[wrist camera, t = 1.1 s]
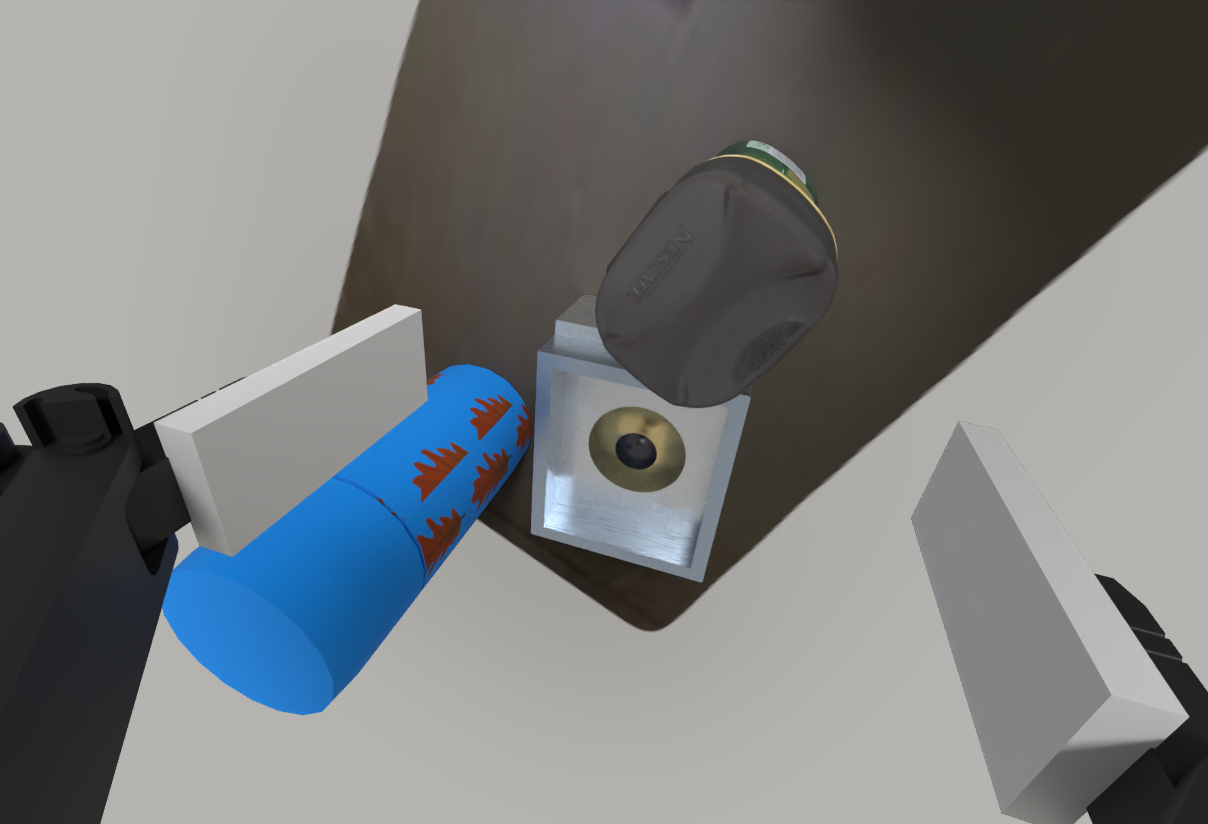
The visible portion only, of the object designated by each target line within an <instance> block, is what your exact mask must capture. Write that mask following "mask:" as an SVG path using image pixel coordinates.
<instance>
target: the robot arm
mask: <svg viewBox="0 0 1208 824" xmlns="http://www.w3.org/2000/svg"><path fill="white" fill-rule="evenodd" d="M427 401H428V396H427V382H426V369H425V356H424V342H423V329H422V316H421V310H420V309H415V308H410V307H406V306H401V305H396V304H395V305H393V306H391V307H389V308H387V309H385V310H383V311H381V312H379V313H377V314H375V315H373V316H371V317H369V318H367V319H365V320H363V321H361V322H359V323H356V324H354V325H352V326H350V327H348V328H346V329H344V330H342V331H340V332H338V333H336V334H334V335H332V336H330V337H328V338H326V339H324V340H322V341H320V342H318V343H316V344H314V345H312V346H309V347H308V348H305V349H303V350H301V351H299V352H297V353H295V354H293V355H291V356H289V357H287V358H285V359H283V360H281V361H279V362H277V363H275V364H273V365H271V366H269V367H266V368H264V369H262V370H260V371H258V372H256V373H254V374H252V375H250V376H248V377H244V378H241V379H239V380H237V381H234V382H233V383H230V384H228V385H226V386H224V387H222V388H220V389H219V391H217V392H216V391H214V392H212V393H210V394H208V395H206V396H204V397H202V398H201V400H199V401H198V400H195V401H193V402H191V403H189V404H187V405H185V406H183V407H181V408H179V409H177V410H175V411H173V412H171V413H169V414H167V415H165V416H162V417H160V418H158V419H156V420H154V421H152V422H150V423H148V424H146V425H144V426H142V427H140V428H138V429H136V430H134V429H133V426H132V424H131V421H130V419H129V416H128V414H127V411H126V409H125V406H124V404H123V401H122V399H121V396H120V393H119V391H118V390H117V389H115V388H114V387H113V386H111V385H106V384H101V383H79V384H72V385H65V386H59V387H55V388H52V389H48V390H44V391H41V392H38V393H36V394H34V395H31V396H29V397H26V398H24V399H22V400H21V401H20V402H18V403H17V404H15V405H14V406H13V409H14V410H15V413H16V415H17V417H18V418H19V420H20V422H21V424H22V426H23V428H24V430H25V432H26V434H27V436H28V438H29V440H30V442H31V444H32V446H28V445H15V444H14V443H13V441H12V439H11V437H10V435H9V433H8V431H7V429H6V428H5V426H4V424H3V423H1V422H0V824H100V823H101V819H102V816H103V812H104V809H105V805H106V801H107V798H108V795H109V791H110V788H111V784H112V781H113V777H114V774H115V770H116V767H117V763H118V760H119V755H120V753H121V749H122V746H123V742H124V738H125V735H126V731H127V728H128V724H129V721H130V717H131V714H132V710H133V707H134V703H135V700H136V696H137V693H138V689H139V686H140V682H141V679H142V675H143V672H144V668H145V665H146V661H147V658H148V654H149V651H150V647H151V644H152V640H153V636H154V633H155V630H156V626H157V623H158V619H159V616H160V612H161V609H162V605H163V602H164V598H165V595H166V591H167V588H168V584H169V581H170V577H171V574H172V570H173V567H174V563H175V560H176V556H177V553H178V540H177V537H176V535H175V532H176V531H178V530H179V529H180V528H182V527H183V526H185V525H186V524H188V523H189V522H191V524H192V527H193V530H194V532H195V535H196V538H197V541H198V543H199V546H201V547H204V548H207V549H210V550H213V551H216V552H219V553H222V554H225V555H228V556H231V557H233V556H234V555H236V554H237V553H238V552H239V551H241V550H242V549H243V548H244V547H246V546H247V545H248V544H249V543H251V542H252V541H253V540H254V539H255V538H257V537H258V536H259V535H260V534H262V533H263V532H264V531H265V530H267V529H268V528H269V527H270V526H272V525H273V524H274V523H275V522H277V521H278V520H279V519H280V518H282V517H283V516H284V515H285V514H287V513H288V512H289V511H290V510H292V509H293V508H294V507H295V506H297V505H298V504H299V503H300V502H302V501H303V500H304V499H305V498H307V497H308V496H309V495H310V494H312V493H313V492H314V491H315V490H317V489H318V488H319V487H320V486H322V485H323V484H324V483H325V482H327V481H328V480H329V479H330V478H332V477H333V476H334V475H335V474H337V473H338V472H339V471H340V470H342V469H343V468H344V467H345V466H347V465H348V464H349V463H350V462H352V461H353V460H354V459H355V458H357V457H358V456H359V455H360V454H362V453H363V452H364V451H365V450H367V449H368V448H369V447H370V446H372V445H373V444H374V443H375V442H377V441H378V440H379V439H380V438H382V437H383V436H384V435H385V434H387V433H388V432H389V431H390V430H392V429H393V428H394V427H395V426H397V425H398V424H399V423H400V422H402V421H403V420H404V419H405V418H407V417H408V416H409V415H410V414H412V413H413V412H414V411H415V410H417V409H418V408H419V407H420V406H422V405H423V404H424V403H425V402H427ZM911 519H912V523H913V526H914V529H915V533H916V536H917V539H918V543H919V546H920V549H921V552H922V556H923V558H924V562H925V565H926V569H927V572H928V575H929V578H930V582H931V585H932V588H933V591H934V594H935V598H936V601H937V604H938V607H939V611H940V614H941V617H942V620H943V624H944V627H945V630H946V633H947V637H948V640H949V643H950V647H951V650H952V653H953V656H954V660H955V663H956V666H957V670H958V673H959V676H960V679H961V683H962V686H963V689H964V693H965V696H966V699H967V702H968V705H969V709H970V712H971V715H972V718H973V722H974V725H975V728H976V732H977V735H978V738H979V741H980V745H981V748H982V751H983V754H984V758H985V761H986V764H987V767H988V770H989V774H990V777H991V781H992V784H993V787H994V790H995V794H996V797H997V800H998V803H999V807H1000V810H1001V813H1002V814H1006V815H1008V816H1011V817H1014V818H1017V819H1020V820H1023V821H1026V822H1029V823H1032V824H1074V823H1075V822H1076V821H1077V820H1078V819H1079V818H1080V817H1081V816H1082V815H1084V814H1085V813H1086V812H1087V811H1088V814H1089V816H1090V818H1091V821H1092V823H1093V824H1208V692H1207V690H1206V689H1205V688H1204V686H1203V685H1202V683H1201V682H1200V681H1199V679H1198V678H1197V677H1196V675H1195V674H1194V672H1193V671H1192V670H1191V668H1190V667H1189V666H1188V664H1187V663H1183V662H1182V656H1181V655H1180V653H1179V652H1178V650H1177V649H1176V648H1175V646H1174V645H1173V643H1172V642H1171V641H1170V639H1166V638H1165V633H1164V631H1163V630H1162V628H1161V627H1160V626H1159V624H1158V623H1157V621H1156V620H1155V619H1154V617H1153V616H1152V615H1151V613H1150V612H1149V610H1148V609H1147V608H1146V606H1145V605H1144V604H1143V603H1141V602H1140V601H1139V600H1138V599H1137V598H1136V597H1134V596H1133V595H1132V594H1131V593H1130V592H1129V591H1127V590H1126V589H1125V588H1124V587H1123V586H1121V584H1119V583H1118V582H1117V581H1116V580H1115V579H1113V578H1109V577H1106V576H1102V575H1098V574H1094V573H1093V572H1092V570H1091V569H1090V567H1089V566H1088V564H1087V563H1086V561H1085V560H1084V558H1083V557H1082V555H1081V554H1080V552H1079V551H1078V549H1077V548H1076V546H1075V545H1074V543H1073V542H1072V540H1071V539H1070V537H1069V536H1068V534H1067V533H1066V531H1065V530H1064V528H1063V527H1062V525H1061V524H1060V522H1059V521H1058V519H1057V518H1056V516H1055V515H1054V513H1053V512H1052V510H1051V509H1050V507H1049V506H1048V504H1047V503H1046V501H1045V500H1044V498H1043V497H1042V495H1041V494H1040V492H1039V491H1038V489H1037V488H1036V486H1035V485H1034V483H1033V482H1032V480H1031V479H1030V477H1029V476H1028V474H1027V473H1026V471H1025V470H1024V468H1023V467H1022V465H1021V464H1020V462H1019V461H1018V459H1017V458H1016V456H1015V455H1014V453H1013V452H1012V450H1011V449H1010V447H1009V446H1008V444H1007V443H1006V441H1005V440H1004V438H1003V437H1002V435H1001V434H1000V432H999V431H998V430H997V429H994V428H989V427H984V426H980V425H975V424H970V423H965V422H960V421H959V422H958V424H957V426H956V428H955V430H954V432H953V434H952V436H951V438H950V440H949V442H948V444H947V446H946V448H945V450H944V453H943V454H942V456H941V458H940V460H939V463H938V465H937V467H936V469H935V471H934V473H933V475H932V477H931V479H930V481H929V483H928V485H927V487H926V489H925V491H924V493H923V495H922V497H921V499H920V501H919V503H918V505H917V507H916V509H915V511H914V513H913V515H912V517H911Z"/></svg>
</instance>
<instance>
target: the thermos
mask: <svg viewBox="0 0 1208 824" xmlns="http://www.w3.org/2000/svg"><path fill="white" fill-rule="evenodd" d="M426 382H427V396H428V401H427V402H425V403H424V404H423V405H422V406H420V407H419V408H418V409H417V410H415V411H414V412H413V413H412V414H410V415H409V416H408V417H407V418H405V419H404V420H403V421H402V422H400V423H399V424H398V425H397V426H395V427H394V428H393V429H392V430H390V431H389V432H388V433H387V434H385V435H384V436H383V437H382V438H380V439H379V440H378V441H377V442H375V443H374V444H373V445H372V446H370V447H369V448H368V449H367V450H365V451H364V452H363V453H362V454H360V455H359V456H358V457H357V458H355V459H354V460H353V461H352V462H350V463H349V464H348V465H347V466H345V467H344V468H343V469H342V470H340V471H339V472H338V473H337V474H335V475H334V476H333V477H332V478H330V479H329V480H328V481H327V482H325V483H324V484H323V485H322V486H320V487H319V488H318V489H317V490H315V491H314V492H313V493H312V494H310V495H309V496H308V497H307V498H305V499H304V500H303V501H302V502H300V503H299V504H298V505H297V506H295V507H294V508H293V509H292V510H290V511H289V512H288V513H287V514H285V515H284V516H283V517H282V518H280V519H279V520H278V521H277V522H275V523H274V524H273V525H272V526H270V527H269V528H268V529H267V530H265V531H264V532H263V533H262V534H260V535H259V536H258V537H257V538H255V539H254V540H253V541H252V542H251V543H249V544H248V545H247V546H246V547H244V548H243V549H242V550H241V551H239V552H238V553H237V554H236V555H234V556H233V557H231V556H228V555H225V554H222V553H219V552H216V551H213V550H210V549H207V548H204V547H201V546H199V547H198V548H197V549H195V550H194V551H193V552H192V553H191V554H190V555H189V556H187V557H186V558H185V559H184V560H183V561H182V562H181V563H180V564H179V565H178V566H177V567H176V568H174V569H173V570H172V574H171V577H170V581H169V584H168V588H167V591H166V595H165V598H164V602H163V605H162V608H163V612H164V616H165V617H166V619H167V621H168V622H169V624H170V626H171V628H172V629H173V631H174V633H175V634H176V636H177V637H178V639H179V640H180V641H181V642H182V644H183V645H184V646H185V647H186V648H187V649H188V650H189V651H190V653H191V654H192V655H193V656H194V657H195V658H196V659H197V660H198V661H199V662H200V663H201V664H202V665H203V666H204V667H206V668H207V669H208V670H209V671H210V672H212V673H213V674H214V675H215V676H216V677H218V678H219V679H220V680H221V681H223V682H224V683H225V684H227V685H228V686H230V687H232V688H233V689H235V690H237V691H238V692H240V693H242V694H243V695H245V696H246V697H248V698H250V699H251V700H253V701H256V702H258V703H261V704H263V705H266V706H268V707H270V708H273V709H275V710H278V711H282V712H287V713H293V714H299V715H307V714H312V713H317V712H322V711H323V710H324V709H325V708H326V707H327V706H328V705H329V704H330V703H331V702H332V701H333V700H334V698H335V697H336V696H337V695H338V694H339V693H340V692H341V691H342V690H343V689H344V688H345V687H346V686H347V685H348V684H349V683H350V682H351V681H352V680H353V678H354V677H355V676H356V675H357V674H358V673H359V672H360V670H361V669H362V668H363V667H364V665H365V664H366V663H367V661H368V660H369V659H370V658H371V656H372V655H373V654H374V652H375V651H376V650H377V648H378V647H379V646H380V644H381V643H382V642H383V640H384V639H385V638H386V637H387V635H388V634H389V633H390V631H391V630H392V629H393V627H394V626H395V625H396V623H397V622H398V621H399V620H400V618H401V617H402V616H403V614H404V613H405V612H406V610H407V609H408V608H409V607H410V605H411V604H412V603H413V601H414V600H415V598H416V597H417V596H418V594H419V593H420V592H421V591H422V589H423V588H424V587H425V586H426V584H427V583H428V582H429V580H430V579H431V578H432V577H433V575H434V574H435V573H436V571H437V570H438V569H439V567H440V566H441V565H442V563H443V562H444V561H445V560H446V558H447V557H448V556H449V554H450V553H451V552H452V550H453V549H454V548H455V547H456V545H457V544H458V543H459V541H460V540H461V539H462V537H463V536H464V535H465V533H466V532H467V531H468V530H469V528H470V527H471V526H472V524H473V523H474V522H475V520H476V519H477V518H478V517H479V515H480V514H481V513H482V511H483V510H484V509H485V507H486V506H487V505H488V503H489V502H490V501H491V500H492V498H493V497H494V496H495V494H496V493H497V492H498V490H499V489H500V488H501V487H502V485H503V484H504V483H505V481H506V480H507V479H508V477H509V476H510V475H511V473H512V472H513V470H514V469H515V467H516V466H517V464H518V463H519V461H520V460H521V458H522V456H523V455H524V453H525V452H526V450H527V449H528V445H529V442H530V438H531V434H532V429H531V421H530V414H529V412H528V410H527V408H526V406H525V404H524V402H523V400H522V398H521V396H520V395H519V394H518V393H517V392H516V390H515V389H514V388H513V387H512V386H511V385H510V384H509V383H508V382H507V381H506V380H505V379H503V378H502V377H500V376H498V375H497V374H495V373H493V372H492V371H490V370H488V369H485V368H481V367H477V366H473V365H469V364H466V365H457V366H450V367H449V368H447V369H445V370H443V371H442V372H440V373H438V374H437V375H435V376H434V377H432V378H430V379H429V380H427V381H426Z"/></svg>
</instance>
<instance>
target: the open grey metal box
mask: <svg viewBox="0 0 1208 824" xmlns="http://www.w3.org/2000/svg"><path fill="white" fill-rule="evenodd" d="M596 299H597V296H592V295H587V294H584V295H583V296H582V297H581V298H580V299H579V300H578V301H576V302H575V303H574V304H573V305H572V306H571V307H570V308H569V309H568V310H566V311H565V312H564V313H563V314H562V315H561V316H560V317H559V318H557V319H556V327H555V335H554V336H553V337H552V338H551V339H550V340H549V341H547V342H546V343H545V344H544V345H543V346H542V347H541V348H540V349H539V350H538V355H537V382H536V408H535V435H534V462H533V489H532V516H531V534H534V535H538V536H541V537H544V538H548V539H551V540H555V541H558V542H562V543H565V544H569V545H572V546H576V547H579V548H583V549H586V550H590V551H593V552H597V553H600V554H604V555H607V556H611V557H614V558H618V559H621V560H625V561H628V562H632V563H635V564H639V565H642V566H646V567H649V568H652V569H656V570H659V571H663V572H666V573H670V574H673V575H677V576H680V577H684V578H687V579H691V580H694V581H698V582H701V583H702V581H703V578H704V574H705V570H706V566H707V562H708V559H709V555H710V551H711V547H712V543H713V540H714V536H715V532H716V528H717V524H718V521H719V517H720V513H721V509H722V505H723V502H724V498H725V494H726V490H727V486H728V483H729V479H730V475H731V471H732V467H733V464H734V460H735V456H736V452H737V448H738V445H739V441H740V437H741V433H742V429H743V426H744V422H745V418H746V414H747V410H748V407H749V403H750V399H751V394H752V386H753V384H752V385H751V386H750V387H749V388H748V389H746V390H745V391H744V392H742V393H741V394H740V395H738V396H737V397H736V398H734V399H732V400H730V401H728V402H725V403H723V404H720V405H717V406H713V407H707V408H687V407H681V406H675V405H672V404H670V403H668V402H667V401H665V400H664V399H662V398H661V397H659V396H658V395H656V394H655V393H653V392H652V391H651V390H649V389H648V388H647V387H645V386H644V385H643V384H642V383H640V382H639V381H638V380H637V379H635V378H634V377H633V376H632V375H631V374H630V373H629V372H627V371H626V370H625V369H624V368H623V367H622V366H621V365H620V364H619V363H618V362H617V361H616V360H615V359H614V358H613V357H612V356H611V355H610V354H609V353H608V351H607V350H606V349H605V347H604V345H603V342H602V340H601V338H600V335H599V332H598V329H597V325H596V316H595V307H596Z"/></svg>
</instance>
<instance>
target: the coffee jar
mask: <svg viewBox="0 0 1208 824" xmlns="http://www.w3.org/2000/svg"><path fill="white" fill-rule="evenodd" d="M837 278H838V267H837V247H836V241H835V237H834V234H833V231H832V229H831V227H830V225H829V224H828V222H827V220H826V219H825V217H824V215H823V214H822V213H821V211H820V210H819V206H818V198H817V194H816V191H815V189H814V187H813V185H812V184H811V182H810V181H809V180H808V178H807V177H806V176H805V175H804V173H803V172H802V171H801V170H800V169H799V168H798V167H797V166H796V165H795V164H794V163H793V162H792V161H791V160H790V159H789V158H787V157H786V156H785V155H783V154H782V153H781V152H779V151H778V150H776V149H775V148H773V147H771V146H770V145H768V144H765V143H762V142H758V141H751V140H749V141H742V142H738V143H736V144H733V145H731V146H729V147H727V148H726V149H724V150H723V151H722V152H720V153H719V154H718V155H717V156H715V157H714V158H712V159H709V160H707V161H704V162H702V163H701V164H699V165H697V166H695V167H694V168H692V169H691V170H690V171H688V172H687V173H686V174H685V175H684V176H683V177H682V178H681V179H680V180H679V181H678V182H677V183H676V184H675V185H674V186H673V187H672V188H671V190H669V191H667V192H665V193H663V194H661V195H660V196H659V197H658V199H657V200H656V202H655V203H654V204H653V206H652V207H651V209H650V210H649V211H648V213H647V214H646V215H645V217H644V218H643V219H642V221H641V222H640V223H639V225H638V226H637V227H636V228H635V230H634V231H633V233H632V234H631V236H630V237H629V238H628V240H627V241H626V242H625V243H624V245H623V246H622V247H621V248H620V250H619V251H618V252H617V254H616V255H615V256H614V258H613V259H612V260H611V261H610V263H609V264H608V266H607V272H606V276H605V277H604V279H603V281H602V283H601V286H600V288H599V291H598V294H597V299H596V307H595V316H596V325H597V329H598V332H599V335H600V338H601V340H602V342H603V345H604V347H605V349H606V350H607V351H608V353H609V354H610V355H611V356H612V357H613V358H614V359H615V360H616V361H617V362H618V363H619V364H620V365H621V366H622V367H623V368H624V369H625V370H626V371H627V372H629V373H630V374H631V375H632V376H633V377H634V378H635V379H637V380H638V381H639V382H640V383H642V384H643V385H644V386H645V387H647V388H648V389H649V390H651V391H652V392H653V393H655V394H656V395H658V396H659V397H661V398H662V399H664V400H665V401H667V402H668V403H670V404H672V405H675V406H681V407H687V408H707V407H713V406H717V405H720V404H723V403H725V402H728V401H730V400H732V399H734V398H736V397H737V396H738V395H740V394H741V393H742V392H744V391H745V390H746V389H748V388H749V387H750V386H751V385H752V384H754V383H755V382H756V381H758V380H759V379H760V378H761V377H763V376H764V375H765V374H766V373H767V372H769V371H770V370H771V369H772V368H773V367H775V366H776V365H777V364H778V363H779V362H780V361H781V360H782V359H783V358H784V357H785V356H786V355H787V354H788V353H789V352H790V351H791V350H792V349H793V348H794V347H795V346H796V345H797V344H798V343H799V342H800V341H801V340H802V339H803V338H804V337H805V336H806V335H807V334H808V333H809V332H810V331H811V330H812V329H813V328H814V327H815V326H816V324H817V323H818V322H819V321H820V320H821V319H822V317H823V316H824V314H825V313H826V311H827V310H828V308H829V306H830V304H831V302H832V299H833V296H834V293H835V289H836V284H837Z"/></svg>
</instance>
